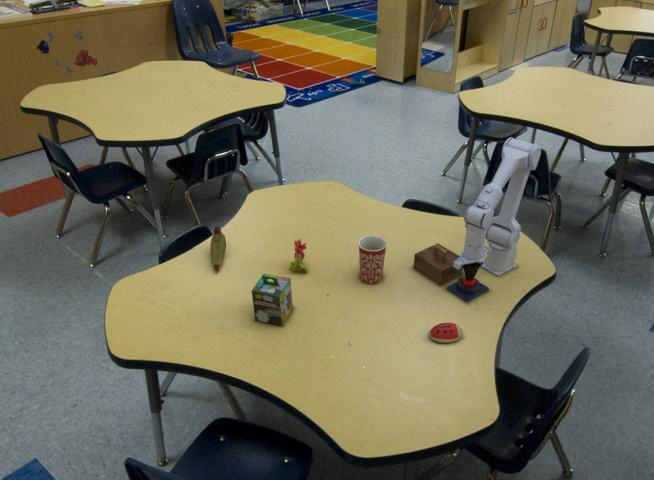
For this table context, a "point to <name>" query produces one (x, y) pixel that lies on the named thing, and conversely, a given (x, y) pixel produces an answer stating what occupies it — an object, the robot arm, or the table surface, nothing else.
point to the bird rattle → (298, 256)
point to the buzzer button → (468, 282)
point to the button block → (467, 290)
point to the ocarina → (217, 248)
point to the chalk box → (272, 299)
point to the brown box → (436, 272)
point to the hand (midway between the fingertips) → (469, 279)
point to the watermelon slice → (446, 332)
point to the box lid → (438, 257)
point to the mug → (371, 258)
